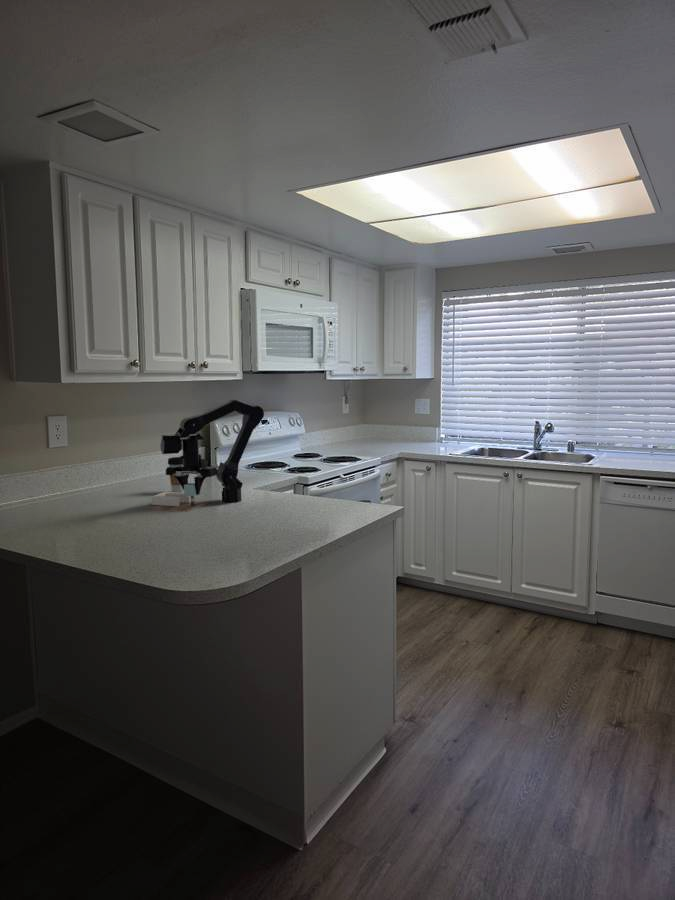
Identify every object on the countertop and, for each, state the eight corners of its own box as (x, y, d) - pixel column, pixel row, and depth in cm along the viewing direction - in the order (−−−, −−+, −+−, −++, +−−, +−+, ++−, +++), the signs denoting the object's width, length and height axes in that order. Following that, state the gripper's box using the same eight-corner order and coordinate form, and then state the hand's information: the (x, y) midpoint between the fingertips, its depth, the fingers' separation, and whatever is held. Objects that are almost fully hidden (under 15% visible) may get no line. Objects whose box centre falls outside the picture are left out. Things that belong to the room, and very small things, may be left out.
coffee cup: (186, 494, 255) (185, 458, 253) (166, 494, 255) (164, 458, 253) (191, 490, 263) (190, 455, 261) (172, 490, 263) (170, 455, 262)
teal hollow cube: (200, 494, 230) (199, 483, 229) (194, 496, 226) (193, 485, 225) (190, 493, 231) (190, 482, 230) (184, 495, 227) (183, 484, 227)
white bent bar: (190, 501, 234) (190, 493, 233) (178, 506, 226) (177, 497, 226) (165, 500, 237) (164, 492, 237) (152, 504, 229) (151, 496, 229)
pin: (195, 505, 229) (195, 495, 229) (193, 505, 228) (193, 496, 228) (192, 504, 230) (191, 495, 229) (190, 505, 228) (189, 496, 228)
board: (207, 506, 232) (207, 503, 232) (187, 514, 219) (187, 511, 219) (165, 503, 238) (165, 500, 238) (143, 511, 224) (143, 508, 224)
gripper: (224, 450, 231) (225, 491, 233) (180, 449, 237) (182, 489, 239) (209, 454, 221) (210, 497, 223) (163, 452, 226) (165, 494, 228)
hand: (192, 494), depth 228 cm, fingers closed on teal hollow cube, 4 cm apart
